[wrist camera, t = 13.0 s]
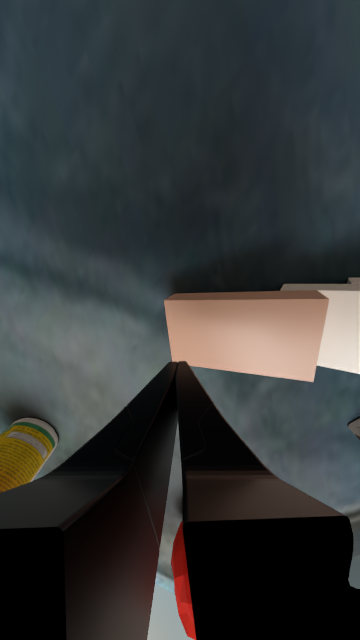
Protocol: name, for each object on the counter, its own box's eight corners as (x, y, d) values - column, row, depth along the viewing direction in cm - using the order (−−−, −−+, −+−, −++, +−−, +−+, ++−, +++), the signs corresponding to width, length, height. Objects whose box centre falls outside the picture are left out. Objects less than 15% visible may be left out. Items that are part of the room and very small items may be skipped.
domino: (163, 300, 12) (329, 298, 9) (175, 293, 14) (316, 289, 10) (172, 363, 14) (313, 381, 10) (181, 350, 15) (304, 362, 12)
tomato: (173, 486, 22) (164, 627, 14) (270, 493, 22) (322, 644, 13) (174, 529, 26) (167, 661, 18) (257, 536, 26) (290, 675, 17)
